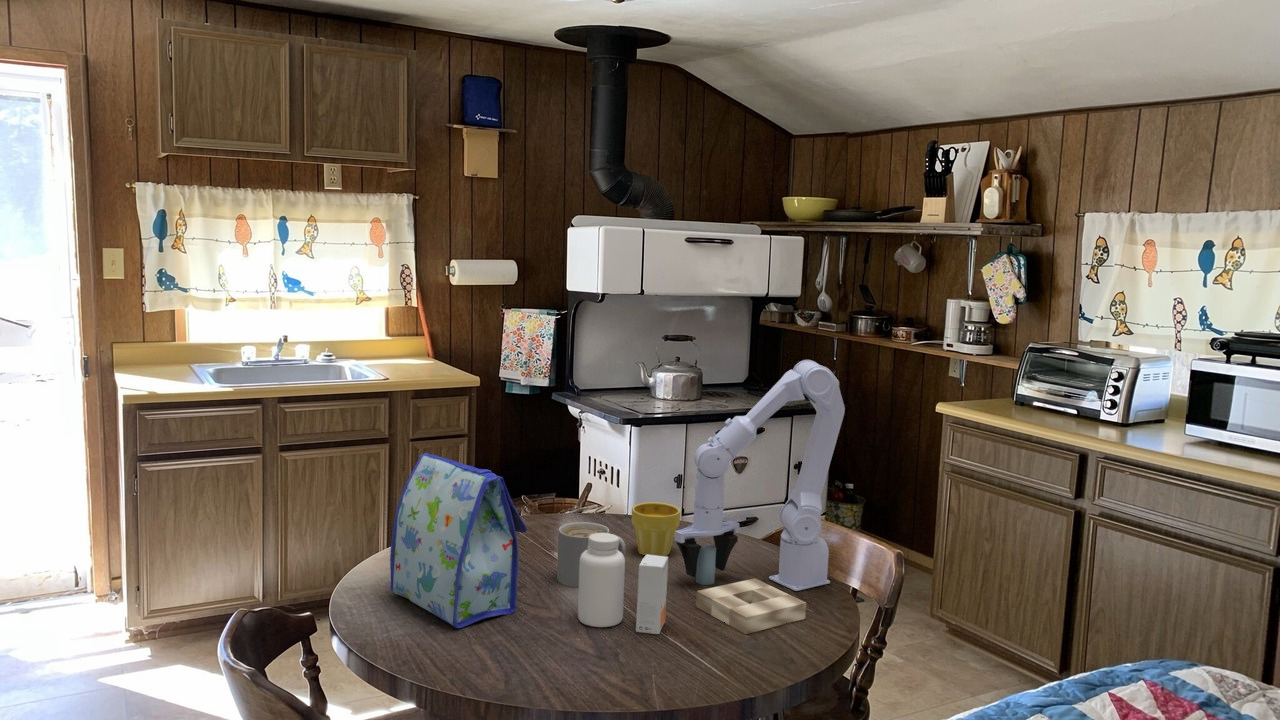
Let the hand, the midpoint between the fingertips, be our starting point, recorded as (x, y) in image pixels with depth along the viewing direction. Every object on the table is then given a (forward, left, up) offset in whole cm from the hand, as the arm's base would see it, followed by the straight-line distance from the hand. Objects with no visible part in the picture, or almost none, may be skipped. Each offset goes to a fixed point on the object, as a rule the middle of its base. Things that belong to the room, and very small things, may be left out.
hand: (705, 572), depth 188 cm
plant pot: (-1, -19, -2) cm, 19 cm away
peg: (0, 0, -2) cm, 2 cm away
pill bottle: (+28, +6, -2) cm, 29 cm away
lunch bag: (+47, -13, -2) cm, 49 cm away
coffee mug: (+19, -12, -2) cm, 23 cm away
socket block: (+2, +17, -2) cm, 17 cm away
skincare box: (+22, +13, -2) cm, 26 cm away
